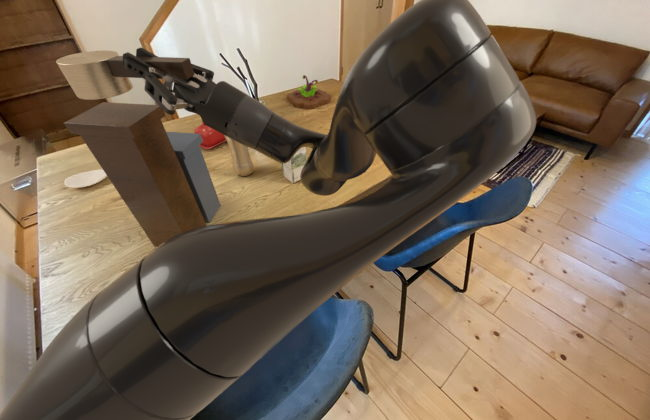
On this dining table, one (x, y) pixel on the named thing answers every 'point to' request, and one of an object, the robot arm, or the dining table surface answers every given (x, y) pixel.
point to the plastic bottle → (240, 158)
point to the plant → (308, 96)
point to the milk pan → (112, 72)
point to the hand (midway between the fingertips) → (131, 56)
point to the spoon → (85, 179)
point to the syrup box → (295, 166)
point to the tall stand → (141, 166)
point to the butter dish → (209, 136)
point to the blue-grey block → (196, 171)
